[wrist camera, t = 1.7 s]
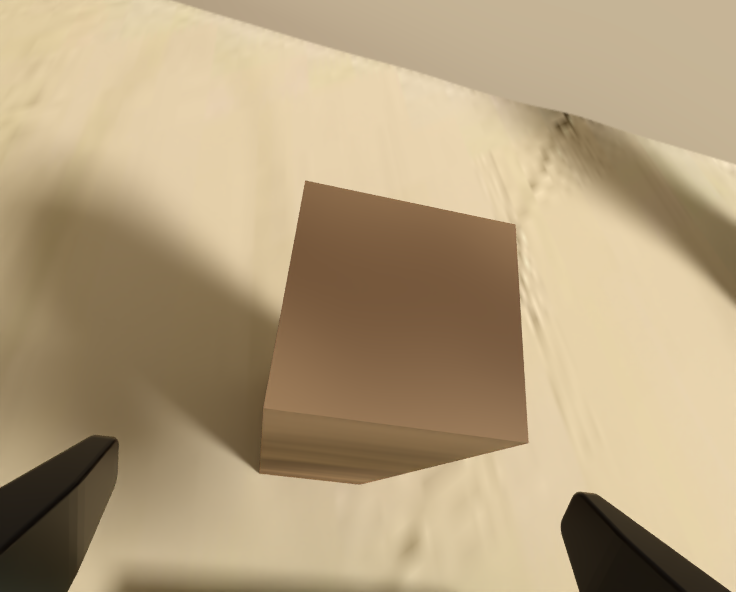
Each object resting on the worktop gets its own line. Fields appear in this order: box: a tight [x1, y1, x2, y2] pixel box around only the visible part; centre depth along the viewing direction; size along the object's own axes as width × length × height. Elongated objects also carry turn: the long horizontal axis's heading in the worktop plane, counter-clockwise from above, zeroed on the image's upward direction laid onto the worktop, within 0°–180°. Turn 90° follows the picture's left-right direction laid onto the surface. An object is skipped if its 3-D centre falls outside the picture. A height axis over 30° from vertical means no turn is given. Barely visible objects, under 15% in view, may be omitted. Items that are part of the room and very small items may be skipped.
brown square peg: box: [259, 181, 528, 484], centre depth 13 cm, size 4×4×13 cm
